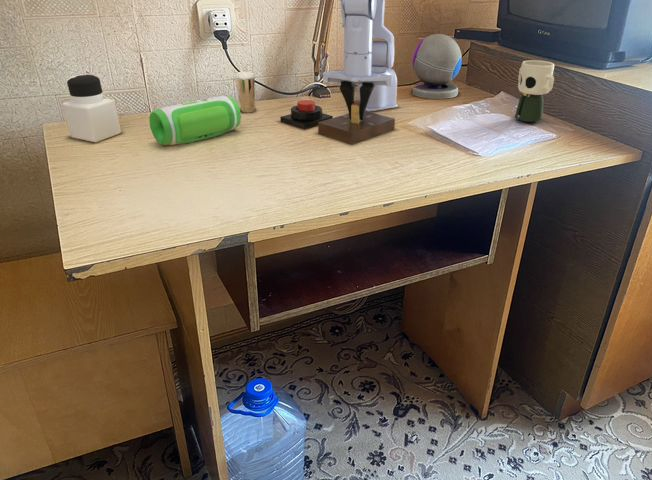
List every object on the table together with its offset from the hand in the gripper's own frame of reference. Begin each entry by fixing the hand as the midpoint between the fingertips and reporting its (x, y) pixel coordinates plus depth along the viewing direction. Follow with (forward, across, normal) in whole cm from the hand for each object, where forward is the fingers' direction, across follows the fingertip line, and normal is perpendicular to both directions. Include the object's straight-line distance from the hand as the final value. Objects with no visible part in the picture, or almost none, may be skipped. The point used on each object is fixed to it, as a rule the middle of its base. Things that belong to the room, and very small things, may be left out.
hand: (356, 118), depth 119 cm
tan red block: (0, 0, 0) cm, 0 cm away
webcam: (+3, +14, +39) cm, 41 cm away
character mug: (+3, +38, +18) cm, 42 cm away
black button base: (+3, -13, +4) cm, 14 cm away
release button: (0, -13, +5) cm, 13 cm away
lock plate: (+3, 0, 0) cm, 3 cm away
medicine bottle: (+3, -53, -16) cm, 55 cm away
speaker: (+3, -31, -12) cm, 34 cm away
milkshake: (+3, -29, +10) cm, 31 cm away
